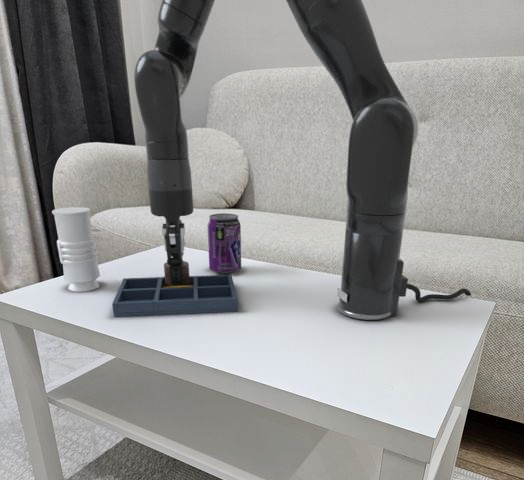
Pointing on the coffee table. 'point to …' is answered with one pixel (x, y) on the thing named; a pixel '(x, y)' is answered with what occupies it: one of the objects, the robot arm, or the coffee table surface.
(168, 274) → the brown cylindrical piece
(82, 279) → the white ribbed cylinder
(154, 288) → the grey compartment tray
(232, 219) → the beverage can
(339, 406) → the coffee table surface
